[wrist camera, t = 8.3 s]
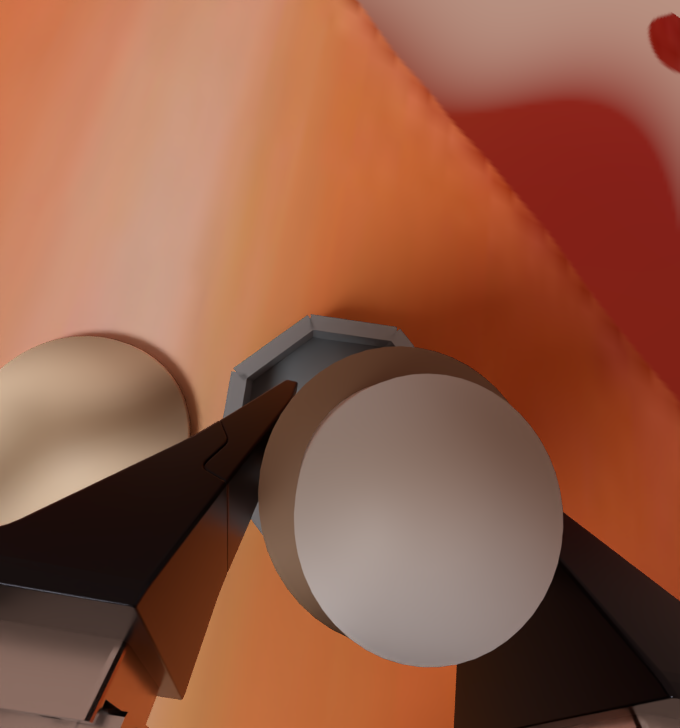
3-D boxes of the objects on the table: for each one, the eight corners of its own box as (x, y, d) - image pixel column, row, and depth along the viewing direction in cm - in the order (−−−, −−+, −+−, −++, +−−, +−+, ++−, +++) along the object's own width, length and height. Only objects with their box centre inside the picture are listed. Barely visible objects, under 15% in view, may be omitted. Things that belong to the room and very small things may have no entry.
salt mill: (390, 463, 17) (658, 645, 4) (306, 488, 16) (293, 796, 3) (368, 379, 17) (539, 296, 4) (285, 401, 17) (204, 375, 4)
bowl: (473, 445, 19) (496, 451, 16) (317, 583, 17) (318, 611, 15) (353, 293, 19) (359, 277, 17) (191, 411, 18) (172, 411, 15)
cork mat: (230, 455, 18) (228, 456, 17) (46, 596, 16) (37, 602, 15) (116, 300, 18) (110, 297, 18) (-74, 420, 16) (-86, 421, 16)
